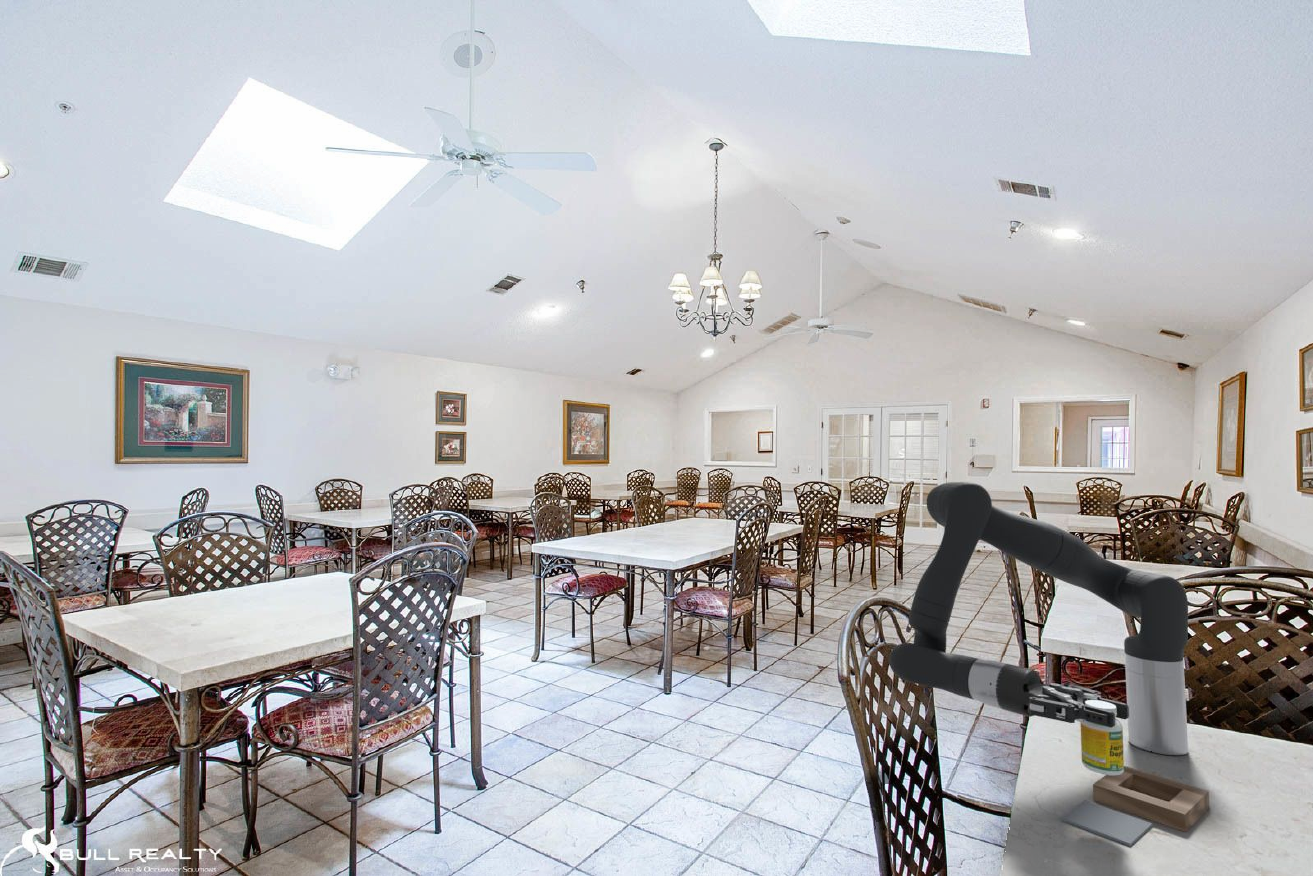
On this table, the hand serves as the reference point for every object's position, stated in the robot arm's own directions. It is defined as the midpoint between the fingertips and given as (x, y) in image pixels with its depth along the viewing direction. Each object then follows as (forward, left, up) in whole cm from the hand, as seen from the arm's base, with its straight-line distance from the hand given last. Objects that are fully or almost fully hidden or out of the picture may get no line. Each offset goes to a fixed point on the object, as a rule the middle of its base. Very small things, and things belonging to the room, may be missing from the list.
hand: (1120, 716), depth 98 cm
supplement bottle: (0, -3, -9) cm, 9 cm away
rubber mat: (0, -3, -16) cm, 17 cm away
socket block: (-13, -1, -16) cm, 21 cm away
